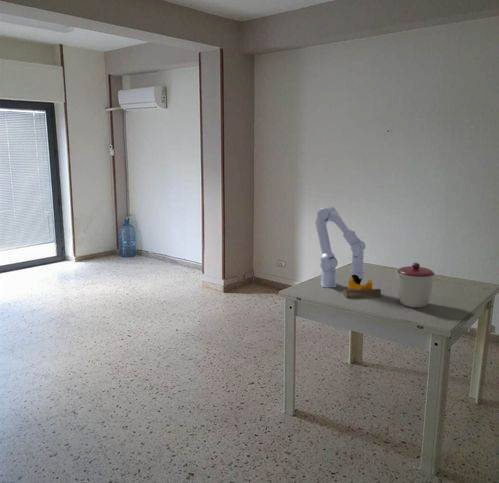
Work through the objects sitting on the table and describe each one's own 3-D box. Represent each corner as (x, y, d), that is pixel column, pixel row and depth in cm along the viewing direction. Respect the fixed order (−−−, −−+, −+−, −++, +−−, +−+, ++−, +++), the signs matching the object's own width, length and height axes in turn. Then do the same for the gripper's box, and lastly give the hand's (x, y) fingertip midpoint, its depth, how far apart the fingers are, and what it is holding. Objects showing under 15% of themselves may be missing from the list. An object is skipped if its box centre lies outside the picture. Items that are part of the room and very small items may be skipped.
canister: (397, 310, 230) (399, 267, 226) (391, 298, 247) (393, 258, 243) (437, 311, 227) (440, 268, 223) (428, 299, 245) (431, 259, 241)
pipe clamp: (348, 292, 258) (347, 282, 255) (349, 287, 261) (349, 277, 258) (371, 294, 253) (371, 284, 250) (372, 289, 257) (372, 279, 254)
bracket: (342, 293, 255) (343, 286, 254) (376, 293, 256) (376, 285, 255) (346, 297, 249) (346, 290, 248) (380, 296, 250) (380, 289, 249)
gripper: (369, 266, 251) (368, 291, 254) (360, 260, 266) (360, 284, 268) (355, 267, 251) (355, 292, 254) (348, 260, 265) (347, 284, 268)
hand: (356, 288), depth 261 cm, fingers closed
